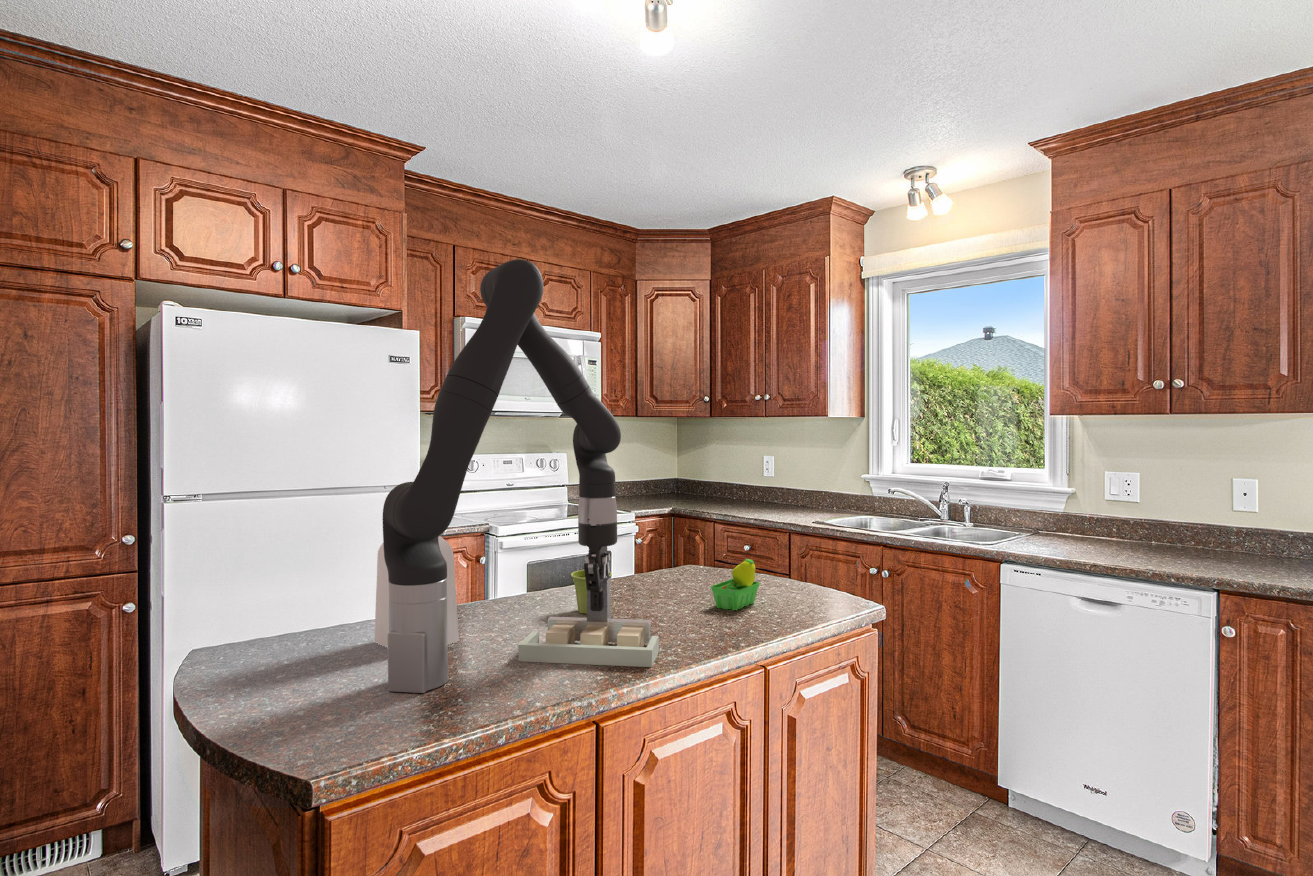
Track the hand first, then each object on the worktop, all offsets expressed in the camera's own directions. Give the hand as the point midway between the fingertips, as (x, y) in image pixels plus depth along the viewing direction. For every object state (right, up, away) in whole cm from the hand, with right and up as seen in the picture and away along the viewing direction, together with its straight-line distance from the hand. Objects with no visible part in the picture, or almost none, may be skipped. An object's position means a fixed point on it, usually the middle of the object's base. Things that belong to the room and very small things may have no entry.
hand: (598, 607), depth 138 cm
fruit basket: (+30, -7, +29) cm, 43 cm away
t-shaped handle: (0, -6, 0) cm, 6 cm away
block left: (-7, -7, -3) cm, 11 cm away
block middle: (0, -7, -4) cm, 8 cm away
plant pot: (-4, -7, +25) cm, 26 cm away
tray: (-1, -7, -7) cm, 10 cm away
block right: (+6, -7, -5) cm, 11 cm away
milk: (-36, -7, +2) cm, 37 cm away
